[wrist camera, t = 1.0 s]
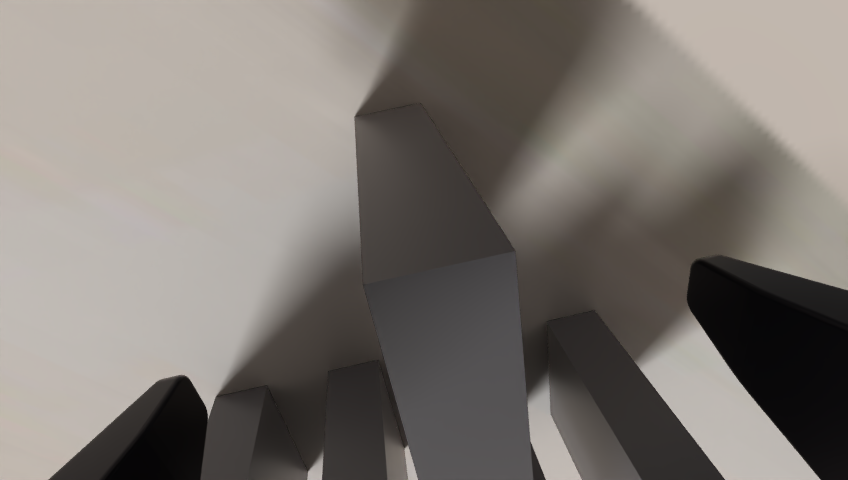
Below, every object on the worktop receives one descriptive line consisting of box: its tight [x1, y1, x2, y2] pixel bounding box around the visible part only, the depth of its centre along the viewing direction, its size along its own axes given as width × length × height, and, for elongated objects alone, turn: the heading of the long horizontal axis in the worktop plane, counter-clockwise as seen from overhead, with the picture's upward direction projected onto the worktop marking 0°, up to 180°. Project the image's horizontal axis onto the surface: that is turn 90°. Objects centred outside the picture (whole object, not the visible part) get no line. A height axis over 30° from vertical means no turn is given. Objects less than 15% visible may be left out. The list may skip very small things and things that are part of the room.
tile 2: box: [547, 310, 725, 480], centre depth 14 cm, size 2×5×8 cm, turn 9°
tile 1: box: [355, 103, 533, 480], centre depth 10 cm, size 2×5×8 cm, turn 9°
